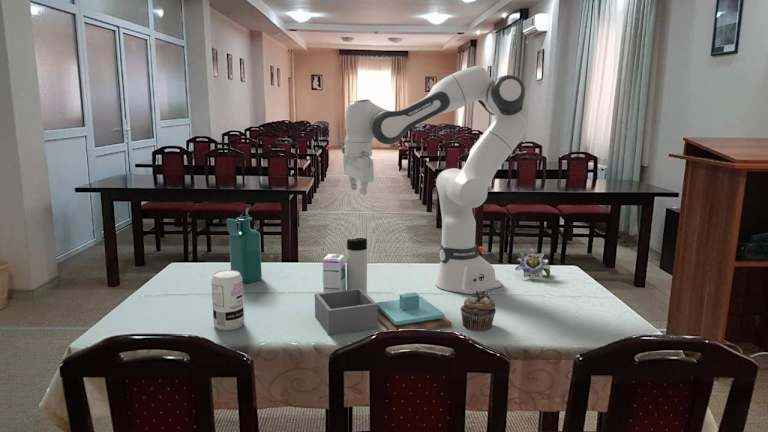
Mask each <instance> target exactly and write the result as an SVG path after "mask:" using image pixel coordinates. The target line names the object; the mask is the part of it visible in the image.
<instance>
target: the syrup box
mask: <svg viewBox="0 0 768 432" xmlns="http://www.w3.org/2000/svg"><path fill="white" fill-rule="evenodd" d="M322 281H323V282H322V287H323V292H322V293H324V292H332V291H340V290H347V269H346V254H341V253H328V254H327V255H326V256H324V258H322Z"/></svg>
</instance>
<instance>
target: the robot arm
mask: <svg viewBox="0 0 768 432" xmlns="http://www.w3.org/2000/svg"><path fill="white" fill-rule="evenodd" d="M525 93H526V87H525V85H524V82H523V81H522V80H521V79H520V78H519V77H518V76H515V75H511V74H507V75H502V76H500V77H498V78H497V79H496V80H495V79H493V78H491V76H490V75H489V72H488V71H487V70H486V69H485V68H484V67H482V66H480V65H474V66H470V67H467V68H464V69H460V70H459V71H456V72H453V73H451V74H450V75H447V76H446V77H444V78H442V79H440V80H439V81H437V82H436V83H435V84H433V85H432V87H431V89H430V91H429V92H428V93H427V95H426V96H425V97H424V98H422V99H420V100H418V101H416V102H414V103H413V104H410V105H408V106H406V107H404V108H403V109H399V110H392V111H391V110H388V109H387V108H386V109H385V108H384V107H381V106H378V105H377V104H375V103H374V102H372V101H371V100H369V99H360V100H354V101H351V102H350V103H348V104H347V106H346V110H345V114H344V115H345V119H344V129H345V133H346V135H345V139H344V145H343V146H342V147H341V154H343V156H342V160H343V161H342V163H343V165H342V166H343V172H344V174H345V175H346V176H348V178H349V185H350V189H351V190H352V191H356V190H357V189H358V184H357V181H359V182H360V189H359V195H362V196H365V195H367V191H368V190H367V189H368V186H369V183H374V180H375V178H374V177H375V173H374V171H375V168H374V161H373V159H372V158H371V157H372V156H373V139H376V141H378V142H380V143H381V144H384V145H393V144H397V143H398V142H399V141H400V140H401V139H402V138H403V137H404V136H405V134H406V133H407V132H408V131H409V130H410V129H412V128H414V127H416V126H417V125H420V124H421V123H423V122H425V121H428V120H429V119H431V118H433V117H435V116H439V115H442V114H447V113H451V112H454V111H456V110H458V109H462V108H463V107H465V106H468V105H470V104H471V103H474V102H478V103H479V104H480V105H481V106H482V107H483V108H484V110H485V111H486V112H487V113H488V114H489V115H492V116H494V118H493V120H492V122H491V123H490V125H489V126H488V127H487V129H486V130H485V131H484V132H482V135H481V136H480V137H479V138H478V139H477V141H476V142H475V143H474V144H473V145H472V147H470V149H469V154H468V157H467V159H466V160H465V161H466V162H465V163H464V165H463V167H461V169H459V168H456V167H454V168H452V167H451V168H447V169H443V170H442V171H441V172H440V173H439V174H438V176H437V178H436V181H435V185H436V189H437V192H438V199H439V205H440V207H439V208H440V213H441V226H442V227H441V243H440V245H439V246H440V247H439V260H440V261H439V267H438V268H439V269H438V273H437V278H436V280H435V286H436V287H437V288H439V289H442V290H445V291H447V292H456V293H461V294H462V293H463V294H466V295H467V294H468V295H470V294H471V295H472V294H473V293H474V292H476V291H478V292H479V293H480V292H481V293H482V292H486V291H489V290H493V289H494V290H495V289H497V288H501V287H502V286H503V285H502V284H503V283H502V281H501V280H500V279H499V278H498V277H496V272H495V268H494V266H493V265H492V264H491V263H490V262H489V261H487V260H486V259H484V258H483V257H482V256H481V255H480V254H484V253H485V252H486V248H485V247H483V246H481V245H480V246H479V245H477V244H476V229H477V227H476V226H477V224H476V223H477V222H476V219H475V217H474V212H473V209H475V208H478V207H481V206H482V205H483V204H484V203H485V201H486V200H487V198H488V194H489V193H488V192H489V190H488V189H489V186H490V184H491V182H492V181H493V178H494V177H495V175H496V173H497V171H498V170H499V168H501V166H502V165H503V164H504V162H505V161H506V160H507V159H508V158H509V156H510V155H511V153H512V152H513V151H514V150H515V149H516V148H517V146H518V145H519V143H520V142H521V140H522V139H523V137H524V135H525V133H526V132H527V128H528V124H527V120H526V119H525V118H524V116H523V115H521V113H520V112H521V111H522V109H523V106H524V99H525V95H526V94H525Z"/></svg>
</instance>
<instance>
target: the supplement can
mask: <svg viewBox="0 0 768 432" xmlns="http://www.w3.org/2000/svg"><path fill="white" fill-rule="evenodd" d="M210 282H211V296H212V297H211V298H212V316H213V327H215V328H216V329H217V330H220V331H232V330H233V331H234V330H237V329H240V328H241V327H242V326H243V325H244V324H245V309H244V307H245V306H244V283H242V276H241V275H240V272H238V271H235V270H231V269H225V270H220V271H216V272H214V273H213V276H212V277H211V281H210Z"/></svg>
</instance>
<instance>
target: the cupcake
mask: <svg viewBox="0 0 768 432" xmlns="http://www.w3.org/2000/svg"><path fill="white" fill-rule="evenodd" d="M496 312H497V311H496V303H495V302H494V300H493V299H492V298H491V294H490V292H489V291H481V293H480V292H478V291H476V292H474V293H472V294H471V295H470V296H468V297H467V298H465V299H464V300H463V305H462V306H461V307H460V314H461V320H462V326H463V328H464V329H466V330H469V331H473V332H485V331H489V330H490V329H491V328H492V326H493V322H494V318H495V315H496Z"/></svg>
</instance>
